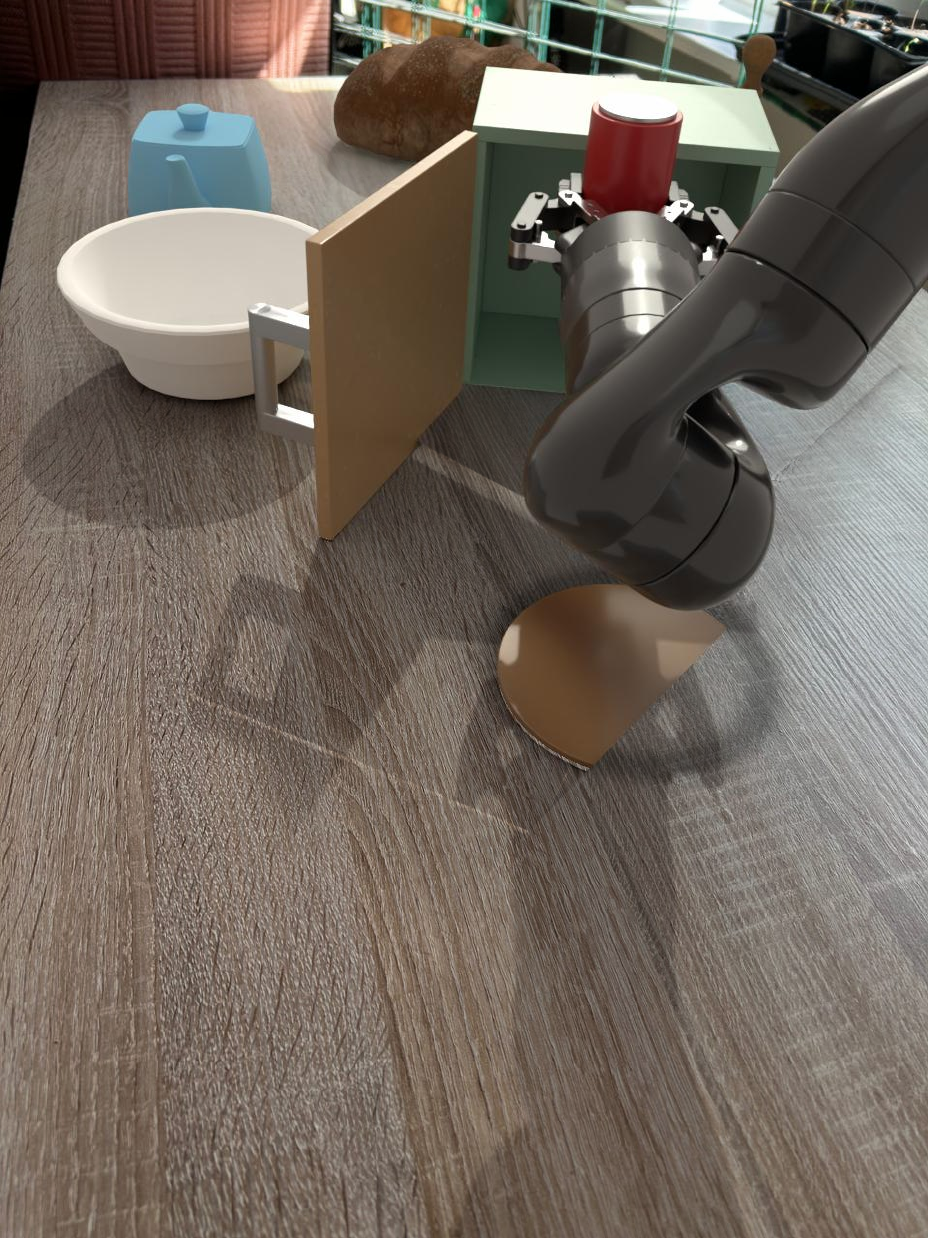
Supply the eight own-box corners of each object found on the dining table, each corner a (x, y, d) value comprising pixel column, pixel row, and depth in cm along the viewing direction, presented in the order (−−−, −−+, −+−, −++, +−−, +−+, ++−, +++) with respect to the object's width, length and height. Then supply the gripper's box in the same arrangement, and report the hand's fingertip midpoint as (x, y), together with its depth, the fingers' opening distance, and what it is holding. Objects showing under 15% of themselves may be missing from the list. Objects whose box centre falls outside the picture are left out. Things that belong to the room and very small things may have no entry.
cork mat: (593, 561, 69) (595, 551, 68) (804, 674, 62) (807, 665, 62) (442, 684, 60) (443, 675, 59) (669, 832, 53) (672, 823, 53)
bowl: (402, 354, 87) (404, 257, 81) (220, 470, 74) (207, 364, 68) (213, 277, 95) (203, 185, 89) (17, 370, 82) (-9, 268, 76)
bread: (347, 116, 128) (344, 10, 120) (590, 136, 127) (603, 30, 119) (323, 163, 116) (318, 48, 109) (591, 184, 115) (605, 70, 108)
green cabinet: (713, 417, 82) (780, 151, 69) (456, 393, 83) (472, 124, 69) (699, 337, 92) (756, 89, 78) (469, 315, 92) (486, 65, 79)
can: (594, 292, 74) (624, 84, 65) (660, 318, 72) (701, 106, 63) (549, 318, 71) (574, 103, 62) (616, 346, 69) (653, 127, 60)
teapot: (116, 280, 93) (93, 145, 86) (155, 199, 107) (138, 76, 99) (258, 286, 94) (248, 153, 86) (280, 205, 107) (272, 83, 99)
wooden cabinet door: (249, 513, 70) (219, 218, 57) (390, 377, 84) (393, 113, 70) (331, 541, 68) (321, 244, 55) (461, 398, 82) (478, 132, 69)
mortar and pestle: (716, 210, 113) (758, 21, 101) (765, 232, 109) (814, 39, 97) (674, 224, 109) (712, 30, 97) (723, 247, 106) (768, 49, 94)
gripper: (787, 255, 53) (746, 140, 66) (501, 231, 53) (514, 120, 66) (752, 387, 58) (719, 257, 71) (490, 365, 58) (504, 239, 71)
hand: (620, 192), depth 68 cm, fingers closed on can, 5 cm apart
